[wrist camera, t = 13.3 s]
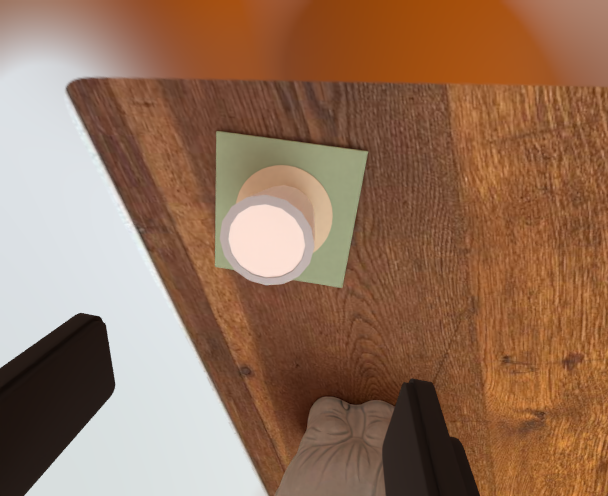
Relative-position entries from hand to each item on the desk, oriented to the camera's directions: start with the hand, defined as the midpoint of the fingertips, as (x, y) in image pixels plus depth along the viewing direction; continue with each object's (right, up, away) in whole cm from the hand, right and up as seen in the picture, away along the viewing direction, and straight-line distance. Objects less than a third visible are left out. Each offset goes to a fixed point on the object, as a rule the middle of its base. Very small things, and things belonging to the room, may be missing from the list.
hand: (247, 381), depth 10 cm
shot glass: (0, +7, +19) cm, 20 cm away
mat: (0, +7, +20) cm, 21 cm away
